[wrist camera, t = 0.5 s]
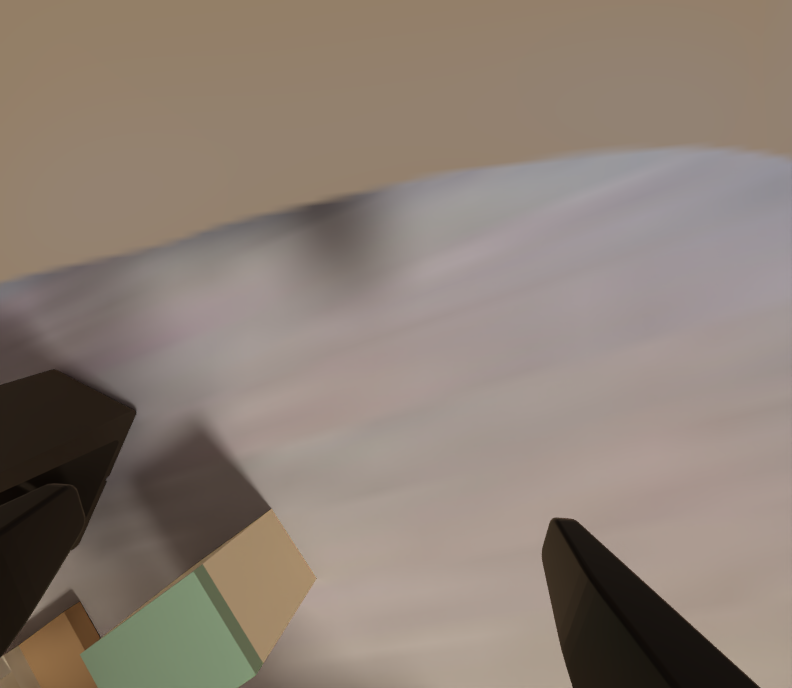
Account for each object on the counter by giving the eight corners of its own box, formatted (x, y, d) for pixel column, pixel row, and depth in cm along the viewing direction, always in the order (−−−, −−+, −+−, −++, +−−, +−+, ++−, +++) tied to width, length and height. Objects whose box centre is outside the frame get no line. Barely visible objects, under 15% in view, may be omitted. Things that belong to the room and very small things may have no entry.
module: (316, 578, 22) (256, 675, 15) (233, 637, 23) (136, 758, 16) (271, 508, 23) (193, 571, 16) (190, 567, 23) (79, 654, 16)
